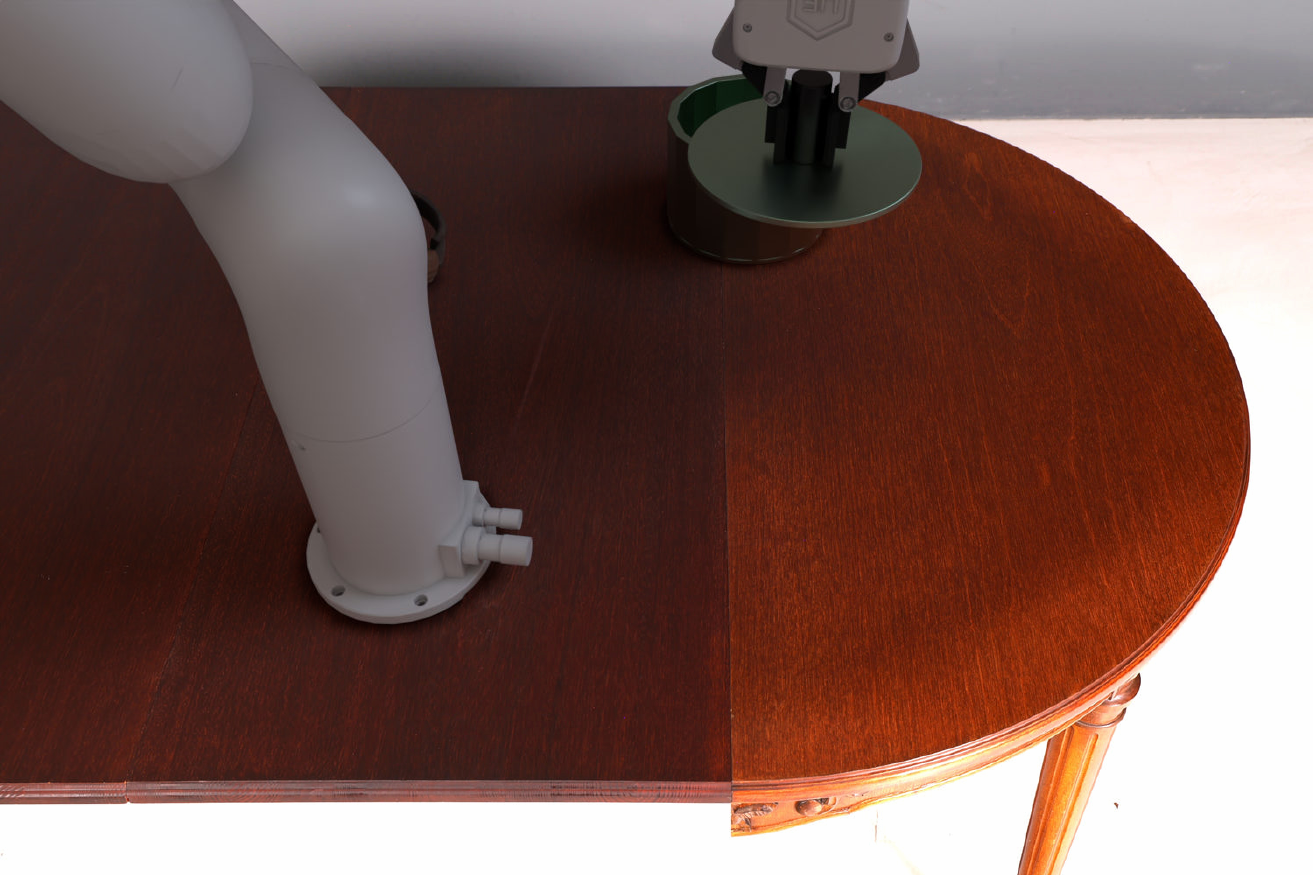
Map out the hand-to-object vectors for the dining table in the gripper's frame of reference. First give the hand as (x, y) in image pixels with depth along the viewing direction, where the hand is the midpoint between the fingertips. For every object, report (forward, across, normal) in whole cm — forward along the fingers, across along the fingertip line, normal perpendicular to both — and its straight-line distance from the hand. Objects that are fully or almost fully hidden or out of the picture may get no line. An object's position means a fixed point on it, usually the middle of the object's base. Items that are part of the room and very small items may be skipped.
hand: (804, 151), depth 70 cm
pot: (+19, -5, +20) cm, 28 cm away
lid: (+1, 0, 0) cm, 1 cm away
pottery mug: (+19, -36, +6) cm, 41 cm away
